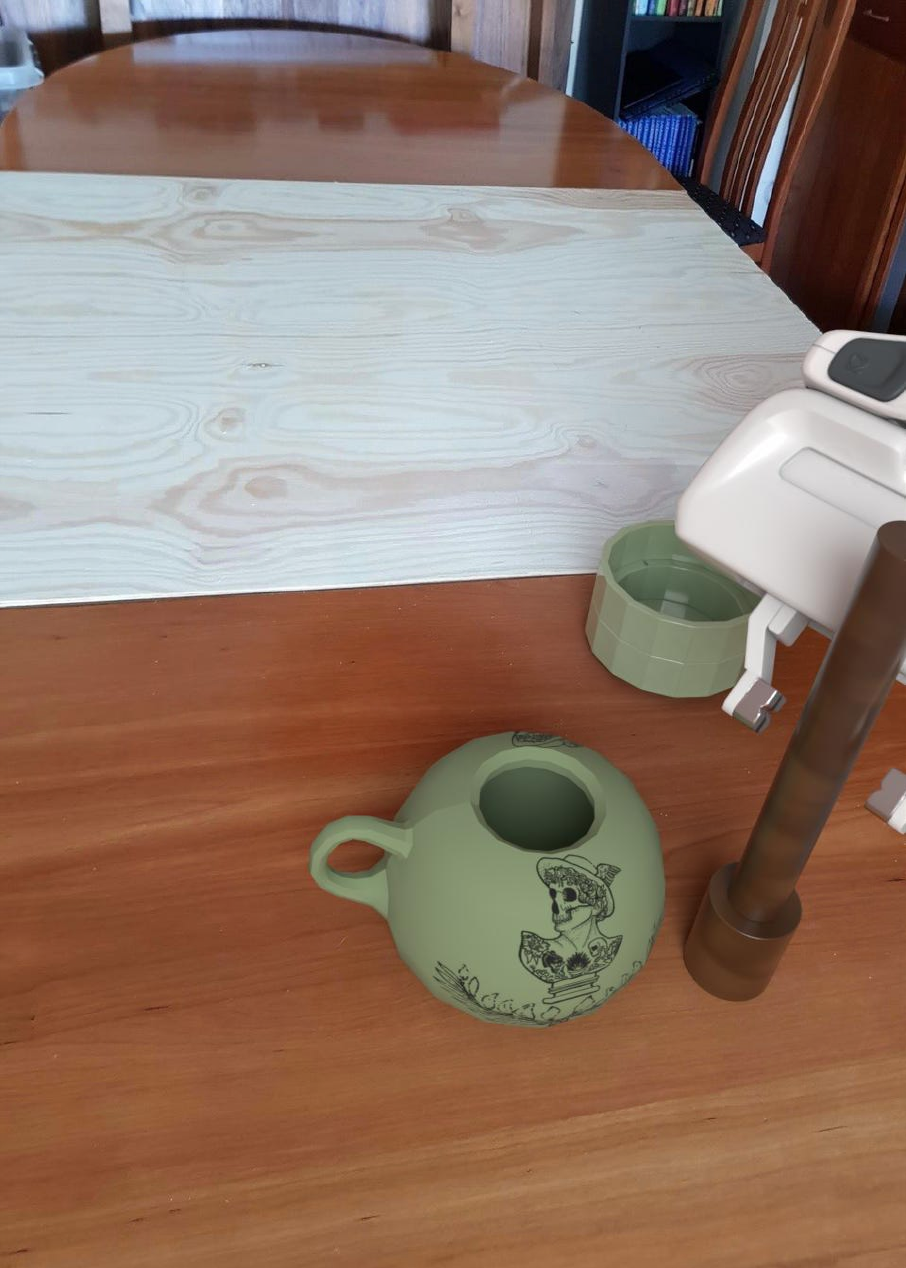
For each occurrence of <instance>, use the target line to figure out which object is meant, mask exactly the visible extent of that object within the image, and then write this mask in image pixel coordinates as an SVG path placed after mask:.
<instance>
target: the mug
mask: <svg viewBox="0 0 906 1268" xmlns="http://www.w3.org/2000/svg"><path fill="white" fill-rule="evenodd" d="M352 840H355V841H361V842H367V843H368V844H371V845H374V846H376V847H378V848H381V849H383V856H382V858H381V859H380V860H379V861H377V863H375V864H374V865H373V866H372V867H371V868H369V869H364V870H360V871H356V872H351V871H341V870H339V869H337V868H334V867H333V866H330V865H329V863H328V859H329V856H330V854H331V853H332V852H333V851H334V850H335V849H337V847H338V846H339V845H340V844H343V843H346V842H349V841H352ZM662 845H663V844H662V840H661V837H660V833H659V829H658V825H657V824H656V822H655V820H654V818H653V816H652V814H651V812H650V810H649V808H648V807H647V806H646V804H645V802H644V800H643V799H642V797H641V795H640V793H639V792H638V790H637V788H636V786H635V785H634V782H633V781H632V780H631V777H629V776H628V775H627V774H625V773H624V772H623V771H622V770H621V769H619V768H618V767H617V766H615V765H614V764H613V763H612V762H611V761H610V760H608V759H607V758H606V757H605V756H603V755H602V754H601V753H600V752H599V751H597V750H594V749H592V748H590V747H587V746H585V745H582V744H580V743H577V742H575V741H573V740H570V739H567V738H565V737H563V736H559V735H557V734H551V733H540V732H532V731H531V732H530V731H524V730H523V731H522V730H521V731H520V730H511V731H506V732H501V733H496V734H491V735H485V736H481V737H476V738H472V739H471V740H469V741H467V742H466V743H464V744H463V745H460V746H458V747H457V748H456V749H454V750H452V751H451V752H448V753H447V754H445V755H444V756H442V757H441V758H439V759H438V760H437V761H435V762H434V763H433V764H432V765H431V766H429V767H428V769H427V770H426V772H425V773H424V774H423V776H422V777H420V780H419V781H418V782H417V784H416V785H415V786H414V788H413V790H412V791H411V792H410V794H409V795H408V797H407V798H406V799H405V801H404V803H403V804H402V806H401V807H400V808H399V810H398V811H397V812H396V814H395V815H394V817H393V821H391V820H387V819H384V818H379V817H376V816H372V815H345V816H343V817H340V818H339V819H336V820H333V821H331V822H329V823H327V824H325V826H324V828H323V829H322V830H321V831H319V833H318V834H317V835H316V837H315V838H313V841H312V843H311V846H310V849H309V856H308V862H307V863H308V864H307V869H308V872H309V874H310V875H311V877H312V878H313V880H314V881H315V883H316V884H317V885H318V887H319V889H322V890H324V891H326V892H327V893H329V894H331V895H333V896H336V897H338V898H342V899H345V900H348V901H352V902H356V903H357V904H362V905H365V906H369V907H371V908H372V909H373V910H375V911H376V912H377V914H379V915H380V916H381V917H382V918H384V919H385V920H386V922H387V925H388V928H389V930H390V934H391V937H392V939H393V942H394V945H395V948H396V951H397V954H398V956H399V959H400V960H401V961H402V963H404V965H405V966H406V967H407V968H408V969H409V970H410V971H411V973H413V975H414V976H415V977H416V978H417V979H418V980H419V982H420V983H421V984H422V985H423V986H424V987H425V989H427V990H428V992H429V993H430V994H431V995H432V996H433V997H434V998H435V999H437V1000H439V1001H442V1002H444V1003H445V1004H447V1005H449V1006H450V1007H453V1008H455V1009H457V1010H459V1011H462V1012H463V1013H466V1014H467V1015H470V1016H472V1017H473V1018H476V1019H478V1020H480V1021H482V1022H483V1023H488V1024H495V1025H505V1026H514V1027H525V1028H534V1029H545V1028H548V1027H552V1026H556V1025H559V1024H562V1023H566V1022H570V1021H573V1020H577V1019H579V1018H580V1019H581V1018H584V1017H588V1016H590V1015H594V1014H595V1013H596V1012H598V1011H599V1010H600V1009H601V1008H602V1007H603V1006H604V1005H606V1004H607V1003H608V1002H610V1000H612V999H613V998H614V997H615V996H617V994H619V993H620V992H621V991H622V990H624V989H625V988H626V987H627V986H628V985H630V983H632V981H633V980H634V979H635V978H636V976H637V975H638V974H639V973H640V972H641V971H642V969H643V967H644V966H645V965H646V964H647V962H648V959H649V957H650V954H651V952H652V950H653V947H654V944H655V942H656V939H657V937H658V934H659V931H660V930H661V927H662V924H663V922H664V920H665V908H666V907H665V906H666V891H667V890H666V889H667V888H666V878H665V867H664V857H663V856H664V855H663V848H662V847H663V846H662Z"/></svg>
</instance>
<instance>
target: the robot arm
mask: <svg viewBox="0 0 906 1268" xmlns="http://www.w3.org/2000/svg"><path fill="white" fill-rule="evenodd" d="M800 368H801V374H802V380H803V386H804V387H793V388H792V387H791V388H786V389H783V390H780V391H777V392H775V393H773V394H771V395H769V396H768V397H765V398H764V399H763V400H761V401H760V402H759V403H757V404H756V405H754V407H753V408H751V410H749V411H748V412H747V413H746V414H745V415H744V416H743V417H742V419H740V420H739V422H738V423H737V424H736V425H735V426H734V427H733V428H732V429H731V431H730V432H729V433H727V434H726V436H725V437H724V439H723V440H722V441H721V442H720V443H719V444H718V445H717V447H716V448H715V449H714V450H713V451H712V453H711V454H710V455H709V456H708V458H706V460H705V462H704V463H703V464H702V465H701V466H700V468H699V469H698V471H696V473H695V474H694V476H693V477H692V478H691V480H690V481H689V483H688V484H687V485H686V486H685V488H684V490H683V491H682V493H681V495H680V496H679V498H678V499H677V501H676V503H675V507H674V520H675V533H676V536H677V538H678V539H679V540H680V541H681V543H682V544H683V545H684V546H685V547H686V548H687V549H688V550H689V551H690V553H691V554H692V555H693V556H695V557H696V558H697V559H699V560H700V561H702V562H704V563H705V564H707V565H708V566H710V567H712V568H713V569H715V570H717V571H718V572H720V573H721V574H723V575H725V576H726V577H728V578H730V579H731V580H733V581H735V582H736V583H738V584H739V585H741V586H743V587H744V588H746V589H748V590H749V591H751V592H753V593H754V594H756V595H757V596H759V597H761V598H762V600H761V601H760V603H759V604H758V605H757V607H756V608H755V610H754V611H753V612H752V614H751V615H750V617H749V622H748V632H747V643H746V654H745V665H744V668H745V669H746V671H745V673H744V674H743V675H742V677H741V678H740V680H739V681H738V682H737V683H736V685H735V686H733V687H732V688H731V691H730V692H729V693H728V694H727V696H726V697H725V699H724V700H723V703H722V706H721V710H722V711H724V712H725V713H726V714H728V715H729V716H731V717H732V718H734V719H735V721H737V722H739V723H741V724H742V725H743V726H745V727H746V728H748V729H750V730H751V731H752V732H754V733H756V734H757V735H760V734H762V733H763V732H764V731H765V730H766V729H767V728H768V726H769V725H770V724H771V716H773V715H776V714H778V713H779V712H780V710H781V709H782V708H783V706H784V705H785V704H786V702H787V701H788V699H787V698H786V697H785V696H784V695H783V694H782V693H781V692H780V691H779V690H778V689H776V688H775V687H773V686H772V681H773V674H774V667H775V658H776V650H777V649H776V648H777V643H780V644H782V645H784V646H785V647H786V648H788V647H792V646H793V644H794V643H795V642H796V640H797V639H798V638H799V637H800V636H801V634H802V633H803V631H804V630H805V629H806V627H808V628H810V629H812V630H813V631H815V633H816V632H817V633H818V634H820V635H821V636H823V637H825V639H828V640H830V641H831V640H832V638H833V636H834V633H835V631H836V629H837V626H838V624H839V621H840V619H841V617H842V614H843V612H844V609H845V607H846V605H847V602H848V600H849V597H850V595H851V593H852V590H853V588H854V585H855V583H856V581H857V578H858V576H859V573H860V571H861V569H862V566H863V564H864V561H865V559H866V557H867V554H868V552H869V549H870V547H871V545H872V542H873V540H874V538H875V535H876V533H877V530H878V529H879V527H880V526H882V525H883V524H885V523H887V522H890V521H896V520H905V521H906V335H900V334H889V333H878V332H868V331H860V330H850V329H834V330H829V331H826V332H824V333H822V334H820V336H818V337H817V339H816V340H815V341H813V343H812V344H811V345H810V346H809V349H808V350H807V352H806V353H805V355H804V357H803V359H802V362H801V367H800ZM895 681H896V682H899V683H900V684H901V685H903V686H905V687H906V659H905V661H904V663H903V666H902V668H901V670H900V672H899V674H898V676H897V678H896V680H895ZM863 807H864V809H865V810H866V811H868V812H869V813H871V814H872V815H873V816H875V817H876V818H878V819H879V820H881V821H882V822H884V823H885V824H886V825H887V826H889V827H891V828H892V829H893V830H895V831H896V832H898V833H899V834H901V835H905V833H906V773H904V772H903V771H900V770H899V769H898V768H896V767H894V766H891V767H890V769H889V770H888V772H887V773H886V774H885V775H884V777H883V778H882V779H881V780H880V788H879V789H876V790H873V791H872V793H871V794H870V795H869V797H868V798H867V800H866V801H865V803H864V805H863Z"/></svg>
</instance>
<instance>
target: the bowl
mask: <svg viewBox="0 0 906 1268" xmlns="http://www.w3.org/2000/svg"><path fill="white" fill-rule="evenodd" d="M602 547H603V548H602V552H601V555H600V557H599V561H598V566H597V571H596V575H595V580H594V586H593V590H592V594H591V598H590V599H591V600H590V604H589V609H588V614H587V618H586V623H585V628H584V632H585V635H586V638H587V641H588V644H589V648H590V651H591V653H592V654H593V655H594V656H595V657H596V658H597V659H598V660H599V661H600V663H601V664H602V665H603V666H604V667H605V668H606V669H607V670H608V671H609V672H610V673H611V674H612V675H613V676H615V677H617V678H619V679H621V680H622V681H625V682H626V683H628V684H629V685H631V686H633V687H635V688H637V689H639V690H641V691H646V692H649V693H654V694H657V695H661V696H666V697H669V698H675V699H678V698H679V699H680V698H681V699H682V698H707V697H712V696H714V695H716V694H718V693H722V692H724V691H727V690H729V689H733V688H734V687H735V685H736V684H737V682H738V681H739V680H740V678H741V677H742V675H743V674H744V673H745V671H746V669H745V668H744V665H745V654H746V643H747V632H748V622H749V617H750V615H751V614H752V612H753V611H754V610H755V608H756V607H757V605H758V604H759V603H760V601H761V600H762V598H761V597H759V596H757V595H756V594H754V593H753V592H751V591H749V590H748V589H746V588H744V587H743V586H741V585H739V584H738V583H736V582H735V581H733V580H731V579H730V578H728V577H726V576H725V575H723V574H721V573H720V572H718V571H717V570H715V569H713V568H712V567H710V566H708V565H707V564H705V563H704V562H702V561H700V560H699V559H697V558H696V557H695V556H693V555H692V554H691V553H690V551H689V550H688V549H687V548H686V547H685V546H684V545H683V544H682V543H681V541H680V540H679V539H678V538H677V536H676V533H675V519H649V520H645V521H640V522H638V523H634V524H631V525H630V524H629V525H627V526H624V527H621V529H619V530H618V531H617V532H616V533H614V534H613V535H612V536H610V537H609V538H608V539H607V540H605V542H604V544H603V546H602Z"/></svg>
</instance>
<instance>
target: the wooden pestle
mask: <svg viewBox="0 0 906 1268" xmlns="http://www.w3.org/2000/svg"><path fill="white" fill-rule="evenodd" d="M905 659H906V521H905V520H896V521H890V522H887V523H885V524H883V525H882V526H880V527H879V529H878V530H877V533H876V535H875V538H874V540H873V542H872V545H871V547H870V549H869V552H868V554H867V557H866V559H865V561H864V564H863V566H862V569H861V571H860V573H859V576H858V578H857V581H856V583H855V585H854V588H853V590H852V593H851V595H850V597H849V600H848V602H847V605H846V607H845V609H844V612H843V614H842V617H841V619H840V621H839V624H838V626H837V629H836V631H835V633H834V636H833V638H832V640H830V643H829V646H828V648H827V650H826V653H825V655H824V658H823V660H822V662H821V664H820V667H819V669H818V672H817V674H816V677H815V679H814V682H813V683H812V686H811V689H810V691H809V692H808V693H809V694H808V695H807V699H806V700H805V703H804V705H803V707H802V709H801V712H800V715H799V717H798V720H797V722H796V724H795V727H794V729H793V730H792V734H791V736H790V739H789V741H788V744H787V745H786V748H785V750H784V753H783V756H782V758H781V760H780V763H779V765H778V768H777V769H776V772H775V774H774V777H773V779H772V782H771V785H770V787H769V789H768V792H767V794H766V796H765V799H764V801H763V803H762V805H761V809H760V811H759V813H758V815H757V818H756V820H755V823H754V825H753V827H752V830H751V832H750V835H749V837H748V840H747V842H746V844H745V847H744V849H743V851H742V853H741V856H740V858H739V860H738V861H733V862H729V863H726V864H724V865H722V866H721V867H719V868H718V869H717V870H716V871H715V872H714V873H713V874H712V876H711V878H710V881H709V883H708V885H707V888H706V891H705V892H704V896H703V898H702V901H701V902H700V906H699V908H698V911H697V914H696V916H695V918H694V921H693V923H692V926H691V928H690V931H689V933H688V936H687V939H686V941H685V943H684V946H683V947H684V948H683V959H684V963H685V964H684V965H685V968H686V970H687V971H688V973H689V976H691V978H692V979H693V981H694V982H695V984H697V985H698V986H699V987H700V988H701V989H703V990H704V991H705V992H706V993H709V994H710V995H711V996H713V997H716V998H718V999H721V1000H723V1001H728V1002H735V1003H736V1002H746V1001H750V1000H753V999H755V998H757V997H758V996H760V995H762V993H764V992H765V990H766V989H767V988H768V986H769V984H770V982H771V980H772V978H773V976H774V974H775V972H776V970H777V968H778V967H779V964H780V963H781V960H782V959H783V956H784V954H785V952H786V950H787V949H788V947H789V945H790V943H791V941H792V939H793V937H794V935H795V933H796V931H797V929H798V927H799V925H800V923H801V921H802V917H803V905H802V900H801V898H800V896H799V894H798V891H797V890H796V889H795V888H796V885H797V884H798V881H799V879H800V877H801V875H802V873H803V871H804V869H805V868H806V867H805V866H806V865H807V864H808V860H809V858H810V856H811V855H812V852H813V851H814V848H815V847H816V844H817V843H818V840H819V838H820V836H821V834H822V832H823V829H824V828H825V826H826V823H827V822H828V820H829V817H830V815H831V813H832V812H833V809H834V807H835V806H836V803H837V801H838V799H839V797H840V795H841V792H842V791H843V789H844V787H845V784H846V783H847V781H848V778H849V776H850V774H851V772H852V770H853V768H854V766H855V764H856V762H857V760H858V758H859V756H860V755H861V752H862V750H863V747H864V746H865V743H866V741H867V740H868V737H869V735H870V733H871V731H872V729H873V727H874V725H875V723H876V721H877V719H878V717H879V715H880V713H881V710H882V708H883V706H884V705H885V702H886V700H887V698H888V696H889V695H890V693H891V690H892V689H893V686H894V685H895V682H896V681H897V680H896V678H897V676H898V674H899V672H900V670H901V668H902V666H903V663H904V661H905Z"/></svg>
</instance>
